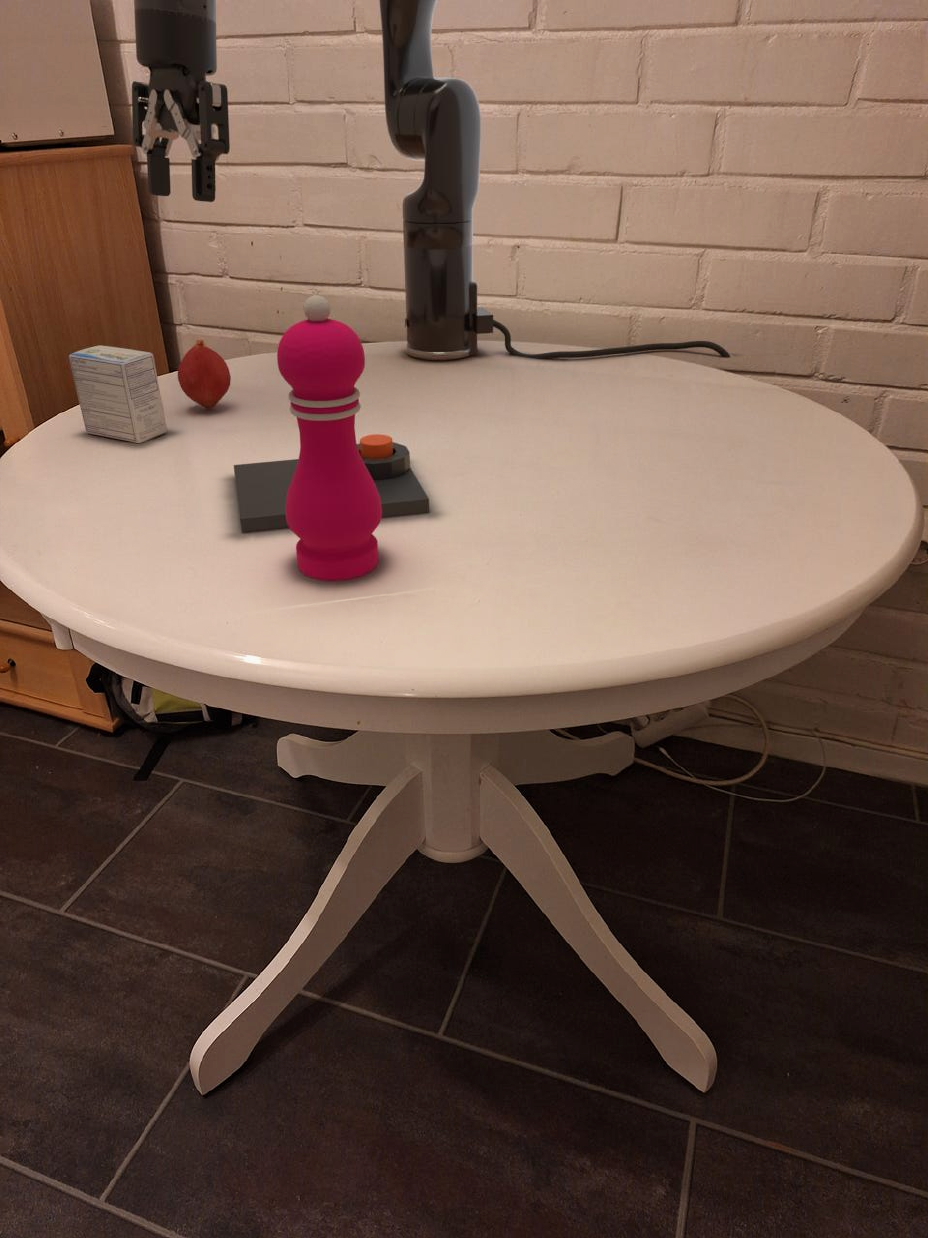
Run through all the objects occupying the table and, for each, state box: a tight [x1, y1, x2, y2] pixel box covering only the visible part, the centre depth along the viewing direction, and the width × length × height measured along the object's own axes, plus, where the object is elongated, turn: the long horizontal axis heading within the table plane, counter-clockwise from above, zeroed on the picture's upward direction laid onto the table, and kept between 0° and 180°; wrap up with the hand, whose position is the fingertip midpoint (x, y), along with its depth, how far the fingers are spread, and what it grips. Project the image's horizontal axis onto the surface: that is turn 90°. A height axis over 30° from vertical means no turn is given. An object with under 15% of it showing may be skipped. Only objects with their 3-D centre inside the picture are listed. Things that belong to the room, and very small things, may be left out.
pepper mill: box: [276, 294, 383, 582], centre depth 66 cm, size 7×7×20 cm
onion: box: [177, 338, 232, 410], centre depth 104 cm, size 6×6×8 cm
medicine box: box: [68, 344, 168, 444], centre depth 96 cm, size 8×4×9 cm, turn 62°
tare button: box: [359, 433, 394, 459], centre depth 84 cm, size 3×3×2 cm
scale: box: [233, 441, 430, 534], centre depth 82 cm, size 16×13×3 cm
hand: (181, 198), depth 94 cm, fingers open, 8 cm apart
